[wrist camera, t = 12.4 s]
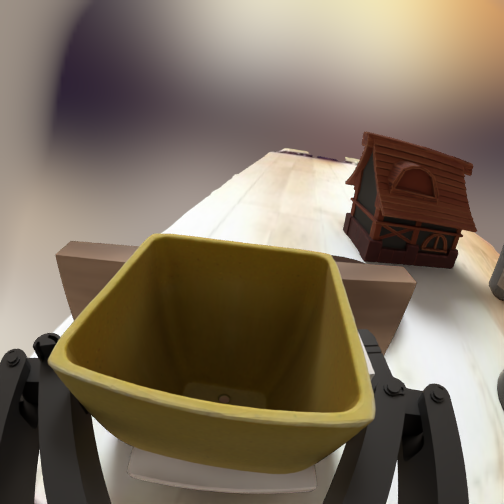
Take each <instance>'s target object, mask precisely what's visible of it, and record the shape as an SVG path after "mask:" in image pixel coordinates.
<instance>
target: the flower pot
mask: <svg viewBox="0 0 504 504" xmlns="http://www.w3.org/2000/svg"><path fill="white" fill-rule="evenodd" d="M48 364H49V365H50V366H51V368H52V369H53V370H54V371H55V373H56V374H57V375H58V377H59V378H60V379H61V381H62V382H63V383H64V384H65V385H66V387H67V388H68V389H69V390H70V392H71V393H72V394H73V395H74V396H75V397H76V399H77V400H78V401H79V402H80V403H81V404H82V405H83V406H84V407H85V409H86V410H87V411H88V412H89V413H90V414H91V415H92V416H93V417H94V418H95V419H96V420H97V421H98V422H99V423H100V424H101V425H102V426H103V427H104V428H105V429H106V430H108V431H109V432H110V433H111V434H112V435H114V436H115V437H116V438H118V439H120V440H121V441H123V442H125V443H127V444H129V445H131V446H133V447H136V448H138V449H141V450H144V451H148V452H151V453H155V454H159V455H163V456H166V457H170V458H175V459H179V460H183V461H188V462H192V463H197V464H202V465H208V466H214V467H220V468H226V469H233V470H240V471H248V472H258V473H267V474H289V473H295V472H299V471H302V470H305V469H307V468H309V467H311V466H313V465H314V464H316V463H318V462H319V461H321V460H322V459H324V458H325V457H327V456H328V455H330V454H331V453H332V452H334V451H335V450H337V449H338V448H339V447H341V446H342V445H343V444H345V443H346V442H347V441H349V440H350V439H351V438H352V437H354V436H355V435H356V434H358V433H359V432H360V431H361V430H362V429H363V428H365V427H366V426H367V425H368V424H370V423H371V422H372V421H373V420H374V417H375V411H376V409H375V399H374V393H373V389H372V385H371V380H370V375H369V372H368V367H367V362H366V359H365V355H364V351H363V348H362V345H361V341H360V338H359V334H358V330H357V327H356V323H355V319H354V316H353V313H352V310H351V307H350V304H349V301H348V297H347V294H346V290H345V287H344V285H343V281H342V278H341V274H340V271H339V268H338V266H337V264H336V262H335V261H334V259H333V257H332V256H331V255H329V254H326V253H321V252H314V251H308V250H301V249H293V248H284V247H275V246H267V245H258V244H249V243H242V242H234V241H225V240H217V239H209V238H202V237H194V236H185V235H177V234H153V235H151V236H150V237H148V238H147V239H146V240H145V241H144V242H143V243H142V244H141V246H139V247H138V249H137V250H136V251H135V252H134V254H133V255H132V256H131V257H130V258H129V259H128V260H127V261H126V262H125V264H124V265H123V266H122V267H121V269H120V270H119V271H118V272H117V273H116V275H115V276H114V277H113V278H112V279H111V280H110V281H109V282H108V284H107V285H106V286H105V287H104V288H103V289H102V290H101V291H100V293H99V294H98V295H97V296H96V297H95V298H94V299H93V300H92V301H91V302H90V303H89V304H88V305H87V306H86V308H85V309H84V310H83V311H82V312H81V313H80V314H79V316H78V317H77V318H76V319H75V320H74V322H73V323H72V324H71V325H70V327H69V328H68V329H67V330H66V331H65V332H64V334H63V335H62V336H61V337H60V339H59V340H58V342H57V344H56V345H55V347H54V349H53V351H52V353H51V355H50V357H49V359H48ZM222 396H226V397H228V398H229V402H227V403H222V402H220V401H219V399H220V397H222Z"/></svg>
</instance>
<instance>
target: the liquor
mask: <svg viewBox="0 0 504 504" xmlns="http://www.w3.org/2000/svg"><path fill="white" fill-rule="evenodd" d="M489 287H490V289H491V291H492V293H493V294H494V295H495V296H496V297H497V298H499V299H500V300H503V301H504V245H503V248H502V251H501V254H500V256H499V259H498V262H497V264H496V267H495V269H494V272H493V274H492V276H491V279H490V281H489Z"/></svg>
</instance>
